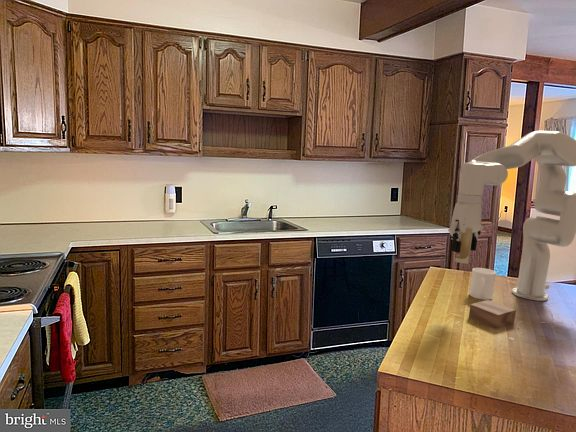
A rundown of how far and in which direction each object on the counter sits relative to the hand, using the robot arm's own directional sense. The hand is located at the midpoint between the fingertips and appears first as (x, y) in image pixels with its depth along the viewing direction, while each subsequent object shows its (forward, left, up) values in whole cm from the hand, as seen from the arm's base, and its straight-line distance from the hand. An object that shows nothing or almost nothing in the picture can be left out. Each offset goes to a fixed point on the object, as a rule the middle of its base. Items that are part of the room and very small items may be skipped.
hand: (463, 250), depth 151 cm
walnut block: (-4, +11, -22) cm, 25 cm away
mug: (-20, -5, -22) cm, 30 cm away
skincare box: (0, 0, -4) cm, 4 cm away
